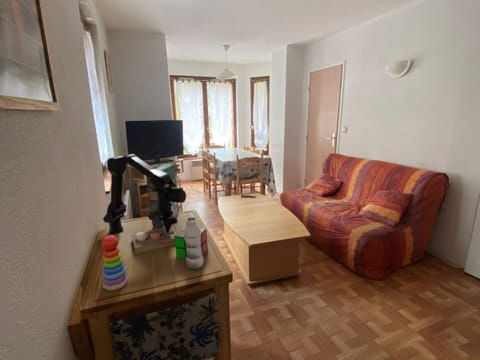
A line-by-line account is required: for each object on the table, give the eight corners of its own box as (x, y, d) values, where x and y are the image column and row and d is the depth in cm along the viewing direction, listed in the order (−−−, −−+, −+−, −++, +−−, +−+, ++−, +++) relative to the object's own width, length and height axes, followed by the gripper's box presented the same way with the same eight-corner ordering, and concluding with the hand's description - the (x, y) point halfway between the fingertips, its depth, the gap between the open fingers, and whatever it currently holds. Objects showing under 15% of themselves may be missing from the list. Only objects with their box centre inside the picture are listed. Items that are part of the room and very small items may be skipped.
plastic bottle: (200, 272, 96) (196, 223, 90) (183, 270, 97) (179, 222, 92) (206, 262, 102) (202, 216, 97) (190, 261, 103) (186, 215, 98)
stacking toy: (112, 294, 85) (102, 244, 80) (98, 286, 89) (89, 238, 85) (132, 281, 92) (125, 234, 87) (119, 274, 96) (111, 229, 91)
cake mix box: (169, 212, 155) (164, 164, 147) (178, 212, 154) (174, 164, 146) (152, 228, 134) (145, 173, 126) (163, 228, 133) (157, 173, 125)
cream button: (136, 239, 118) (135, 233, 117) (145, 237, 119) (145, 231, 119) (137, 243, 114) (136, 237, 113) (147, 241, 116) (146, 234, 115)
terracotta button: (150, 240, 121) (149, 233, 120) (159, 238, 123) (158, 231, 122) (151, 244, 117) (150, 237, 116) (161, 241, 119) (160, 235, 118)
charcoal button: (163, 237, 123) (162, 230, 123) (171, 235, 125) (171, 228, 124) (165, 240, 120) (164, 234, 119) (173, 238, 122) (173, 232, 121)
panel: (132, 240, 122) (131, 234, 121) (172, 231, 130) (171, 225, 129) (135, 253, 110) (135, 247, 109) (179, 242, 118) (178, 236, 117)
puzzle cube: (208, 249, 112) (206, 228, 109) (197, 261, 103) (195, 239, 100) (188, 246, 115) (186, 225, 113) (176, 257, 106) (173, 236, 103)
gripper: (143, 198, 122) (147, 228, 126) (149, 210, 106) (153, 244, 110) (166, 194, 127) (169, 223, 131) (175, 205, 111) (179, 238, 115)
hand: (167, 231), depth 122 cm, fingers closed, pressing on charcoal button
